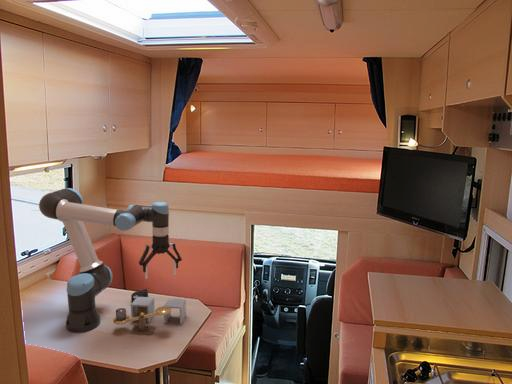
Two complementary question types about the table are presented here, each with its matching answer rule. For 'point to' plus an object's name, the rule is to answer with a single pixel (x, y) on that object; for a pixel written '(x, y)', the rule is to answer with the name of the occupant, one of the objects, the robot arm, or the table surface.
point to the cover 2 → (176, 304)
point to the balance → (140, 320)
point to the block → (141, 310)
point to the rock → (139, 294)
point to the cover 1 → (143, 302)
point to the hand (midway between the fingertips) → (160, 276)
